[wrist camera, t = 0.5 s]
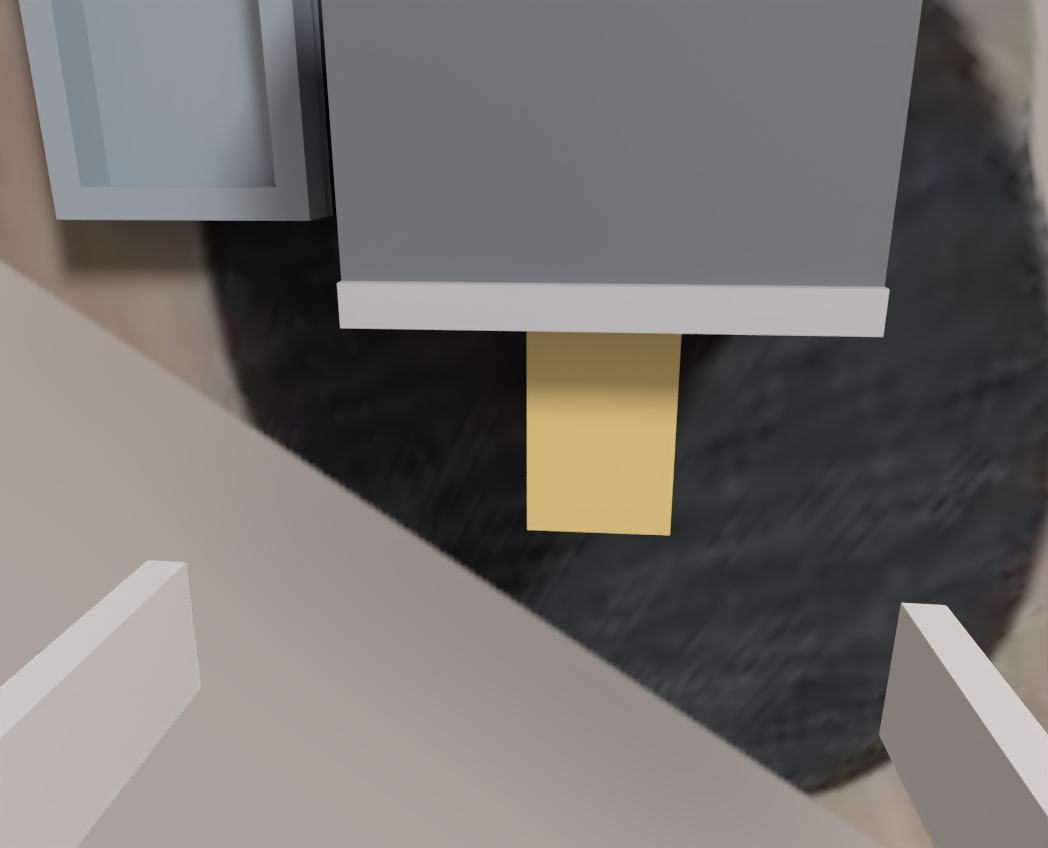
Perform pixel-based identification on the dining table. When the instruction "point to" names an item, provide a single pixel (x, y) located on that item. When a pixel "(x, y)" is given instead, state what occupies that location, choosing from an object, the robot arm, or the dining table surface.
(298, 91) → the tray
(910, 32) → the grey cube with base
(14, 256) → the dining table surface
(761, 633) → the dining table surface
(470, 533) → the dining table surface
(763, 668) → the dining table surface
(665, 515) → the yellow cuboid
